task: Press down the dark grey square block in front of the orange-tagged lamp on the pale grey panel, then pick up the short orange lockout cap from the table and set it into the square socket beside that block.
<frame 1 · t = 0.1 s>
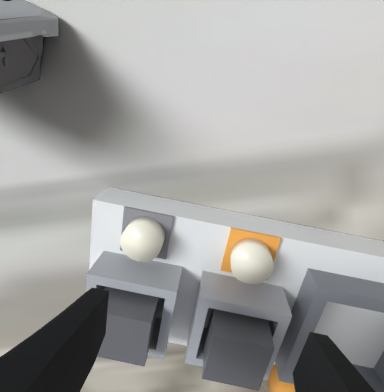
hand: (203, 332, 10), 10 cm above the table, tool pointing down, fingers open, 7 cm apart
dark grey square block: (235, 344, 16), point 5 cm above the table, slide at 0.0 cm
lockout cap: (291, 377, 23), on the table
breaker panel: (247, 277, 20), on the table
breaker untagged: (126, 321, 16), point 5 cm above the table, slide at 0.0 cm
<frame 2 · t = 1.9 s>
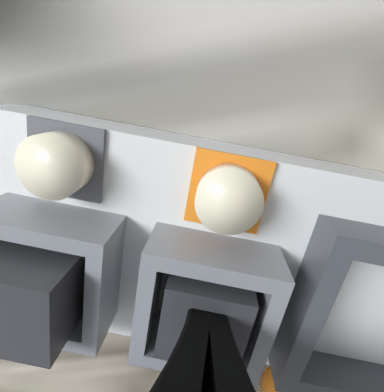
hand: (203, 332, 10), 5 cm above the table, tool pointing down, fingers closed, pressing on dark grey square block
dark grey square block: (204, 308, 11), point 4 cm above the table, slide at 1.2 cm, touching gripper
lockout cap: (292, 383, 17), on the table
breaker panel: (230, 241, 14), on the table
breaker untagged: (26, 296, 10), point 5 cm above the table, slide at 0.0 cm
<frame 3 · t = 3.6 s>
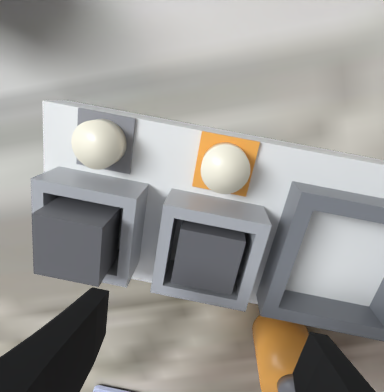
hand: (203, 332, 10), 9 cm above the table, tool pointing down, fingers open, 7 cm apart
dark grey square block: (207, 250, 15), point 4 cm above the table, slide at 1.3 cm
lockout cap: (278, 329, 21), on the table
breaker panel: (227, 209, 18), on the table
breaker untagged: (79, 238, 14), point 5 cm above the table, slide at 0.0 cm
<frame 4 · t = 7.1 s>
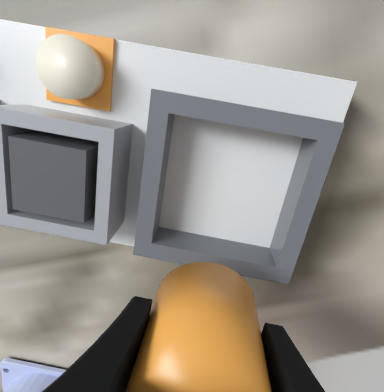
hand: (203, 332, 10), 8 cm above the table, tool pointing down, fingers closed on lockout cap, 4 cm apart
dark grey square block: (63, 173, 13), point 4 cm above the table, slide at 1.3 cm
lockout cap: (204, 304, 11), point 7 cm above the table, touching gripper
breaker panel: (115, 143, 16), on the table
when the fingers open (5 cm above the table, at t = 8.5 s): lockout cap stays where it is, resting on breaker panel.
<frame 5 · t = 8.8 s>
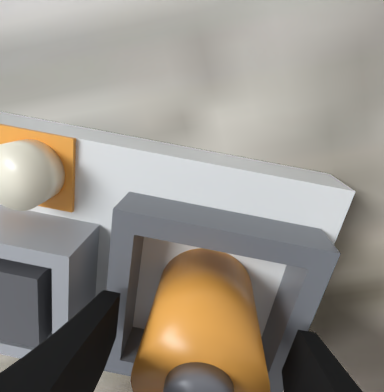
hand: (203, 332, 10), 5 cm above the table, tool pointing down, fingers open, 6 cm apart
dark grey square block: (18, 284, 11), point 4 cm above the table, slide at 1.3 cm
lockout cap: (205, 288, 12), point 2 cm above the table, touching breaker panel
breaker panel: (87, 224, 14), on the table
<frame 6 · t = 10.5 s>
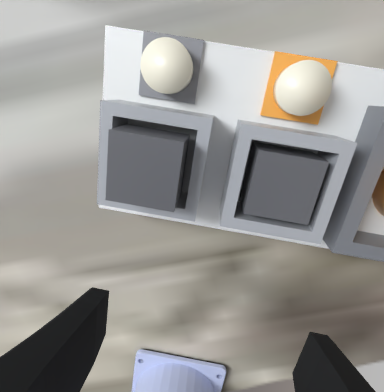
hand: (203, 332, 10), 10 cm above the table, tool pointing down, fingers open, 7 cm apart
dark grey square block: (278, 181, 14), point 4 cm above the table, slide at 1.3 cm
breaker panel: (285, 151, 17), on the table
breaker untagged: (149, 165, 13), point 5 cm above the table, slide at 0.0 cm
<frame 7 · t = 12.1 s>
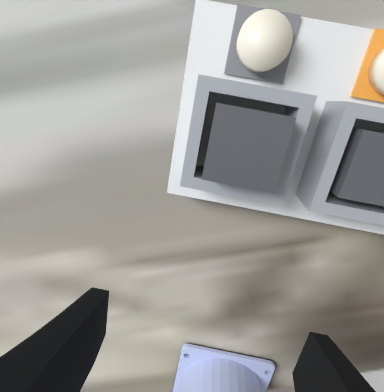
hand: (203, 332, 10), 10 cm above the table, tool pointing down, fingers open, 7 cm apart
dark grey square block: (371, 165, 14), point 4 cm above the table, slide at 1.3 cm
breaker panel: (360, 138, 17), on the table
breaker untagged: (243, 145, 12), point 5 cm above the table, slide at 0.0 cm
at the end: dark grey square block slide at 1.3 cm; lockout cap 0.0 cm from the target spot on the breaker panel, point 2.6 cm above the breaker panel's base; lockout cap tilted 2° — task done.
